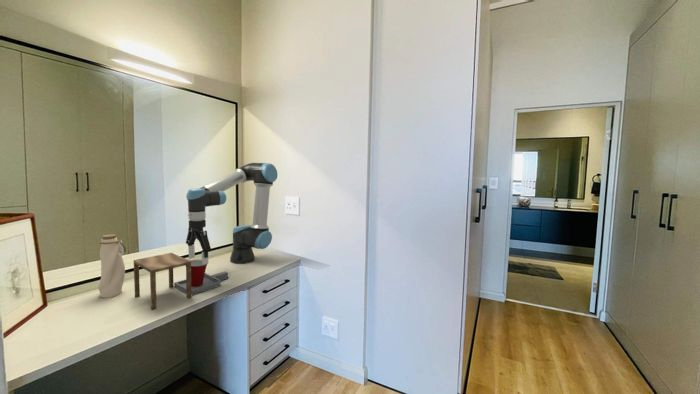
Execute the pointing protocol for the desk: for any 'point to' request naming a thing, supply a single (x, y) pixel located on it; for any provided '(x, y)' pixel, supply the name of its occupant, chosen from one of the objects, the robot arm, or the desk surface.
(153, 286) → the small wooden stool
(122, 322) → the desk surface
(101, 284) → the water bottle
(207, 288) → the tray
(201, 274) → the plastic cup
